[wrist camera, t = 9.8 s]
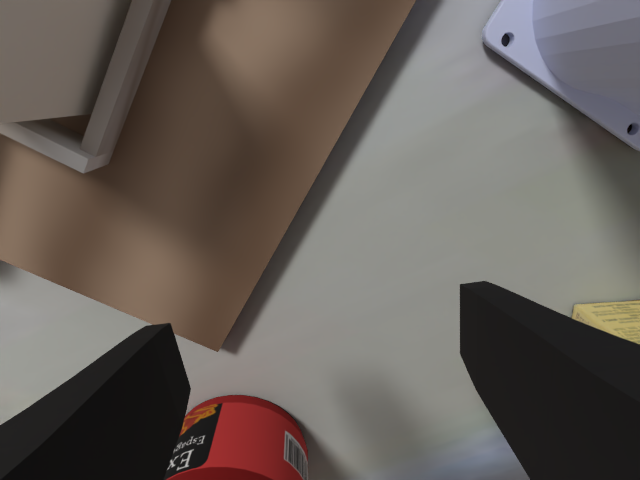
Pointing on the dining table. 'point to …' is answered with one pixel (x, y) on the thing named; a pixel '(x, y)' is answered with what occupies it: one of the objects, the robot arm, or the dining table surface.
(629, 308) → the candy box
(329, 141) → the walnut shelf
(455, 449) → the dining table surface
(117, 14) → the cream carton
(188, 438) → the canned food
